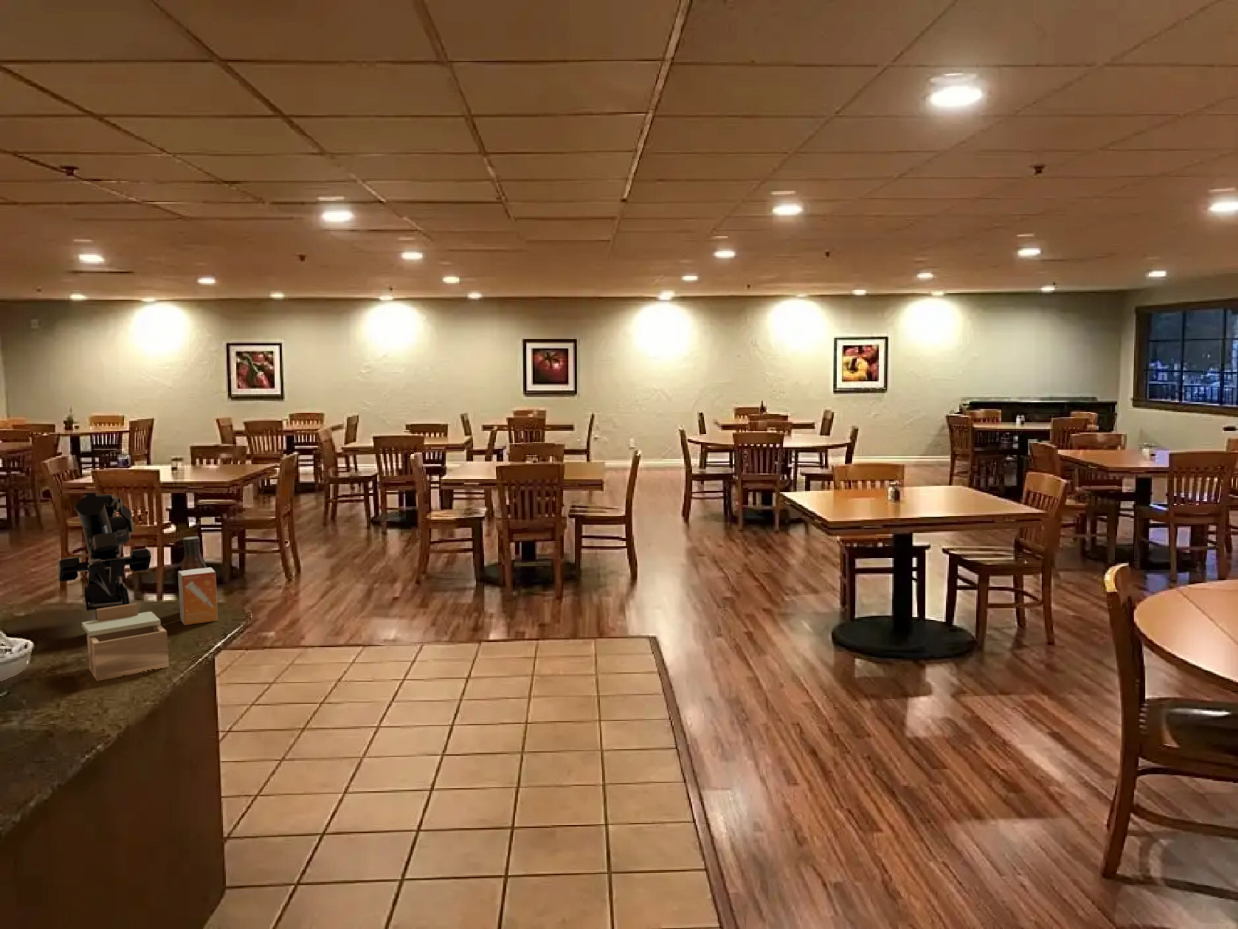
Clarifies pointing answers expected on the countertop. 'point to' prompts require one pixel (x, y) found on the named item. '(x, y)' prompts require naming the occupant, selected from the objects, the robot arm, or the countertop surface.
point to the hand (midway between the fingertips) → (112, 594)
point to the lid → (119, 620)
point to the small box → (197, 595)
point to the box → (127, 652)
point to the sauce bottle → (192, 554)
